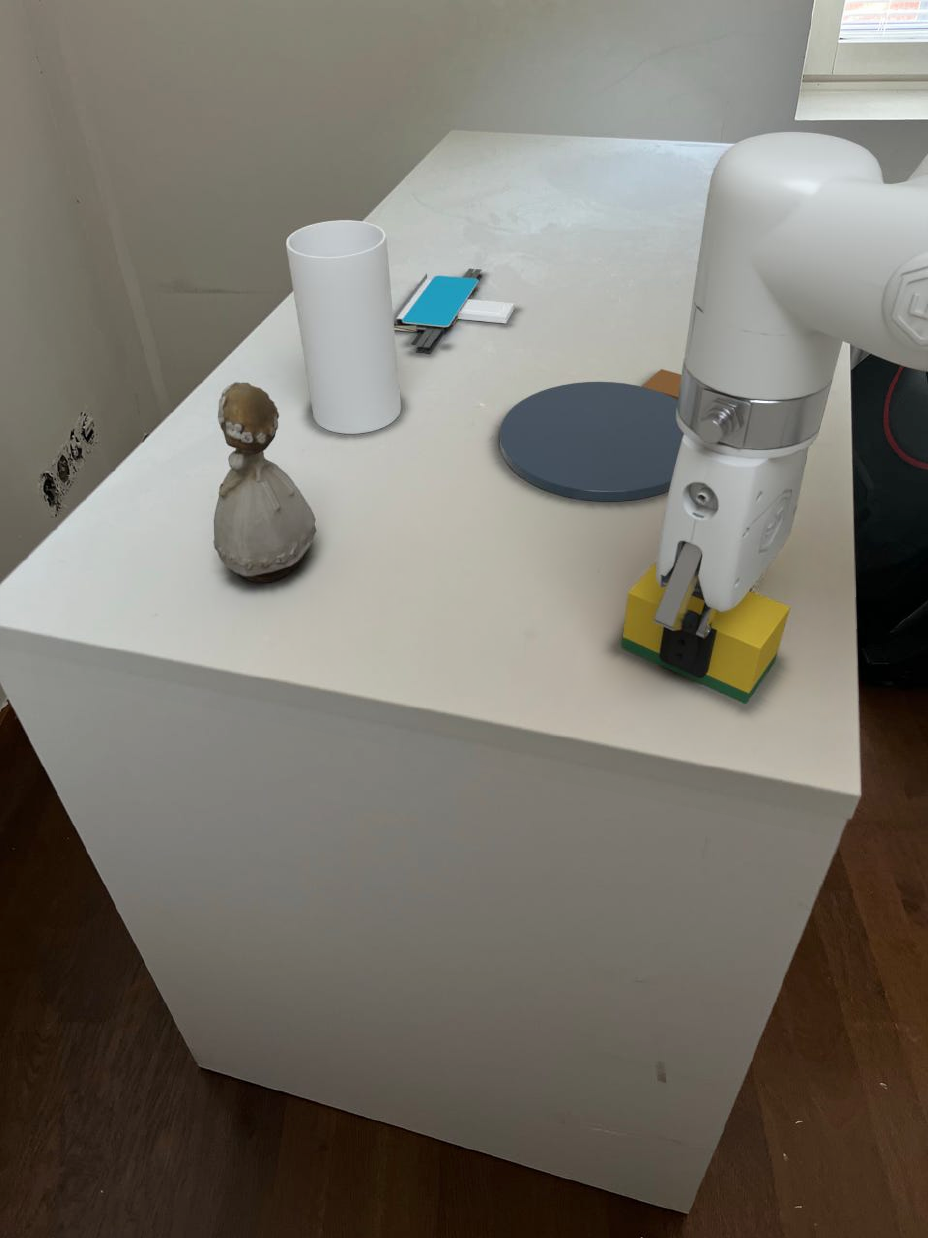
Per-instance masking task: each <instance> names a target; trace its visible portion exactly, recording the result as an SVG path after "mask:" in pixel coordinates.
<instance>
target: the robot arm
mask: <svg viewBox="0 0 928 1238" xmlns="http://www.w3.org/2000/svg"><path fill="white" fill-rule="evenodd" d="M701 231H702V232H701V238H700V245H699V251H698V257H697V258H698V260H697V265H696V273H695V279H694V286H693V294H692V295H693V296H692V301H691V308H690V316H689V323H688V330H687V336H686V344H685V349H684V350H685V351H684V357H683V363H682V367H681V368H682V370H681V382H680V389H679V396H678V403H677V410H676V421H677V424H678V426H679V428H680V429H681V430H682V432H683V433H684V435H683V438H682V442H681V445H680V449H679V453H678V456H677V460H676V464H675V468H674V472H673V476H672V480H671V484H670V489H669V491H668V493H667V498H666V503H665V507H664V512H663V517H662V523H661V527H660V528H661V529H660V533H659V538H658V539H659V540H658V545H657V553H656V560H655V561H656V562H655V563H656V579H657V582H658V584H659V585H660V587H665V586H667V587H666V590H665V592H664V594H663V597H662V599H661V602H660V604H659V607H658V609H657V612H656V614H655V617H654V622H655V623H657V624H659V625H661V626H663V627H664V629H663V635H662V641H661V647H660V653H659V657H660V659H661V660H662V661H663V662H665V663H667V664H669V665H672V666H674V667H676V668H678V669H680V670H683V671H685V672H687V673H689V674H691V675H694V676H696V677H698V678H703V677H704V676H705V675H706V674H707V672H708V669H709V664H710V660H711V655H712V651H713V646H714V641H715V637H716V632H717V630H716V629H713V628H712V625H713V621H714V618H715V615H716V611H717V610H718V611H719V612H726V611H728V610H730V609H732V608H734V607H735V606H737V605H738V604H739V602H740V601H741V600H742V599H743V598H744V597H745V595H746V594H747V593H748V592H749V591H753V587H754V585H755V584H756V583H757V582H758V580H759V579H760V578H761V576H763V574H764V572H766V570H767V569H768V568H769V566H770V565H771V564H772V562H773V561H774V560H775V558H776V557H777V555H778V554H779V553H780V551H781V550H782V549H783V547H784V545H785V544H786V542H787V540H788V539H789V537H790V535H791V532H792V530H793V527H794V522H795V517H796V513H797V509H798V508H797V507H798V503H799V498H800V493H801V489H802V484H803V479H804V473H805V470H806V465H807V460H808V454H809V449H810V446H811V445H813V444H814V442H815V441H816V439H817V438H818V436H819V433H820V429H821V425H822V421H823V417H824V414H825V410H826V408H827V407H826V406H827V403H828V399H829V395H830V391H831V388H832V383H833V380H834V375H835V372H836V369H837V365H838V361H839V357H840V353H841V349H842V345H843V342H844V343H846V344H848V345H850V346H852V347H855V348H857V349H858V350H859V349H860V350H862V351H864V352H867V353H869V354H871V355H873V356H876V357H878V358H880V359H883V360H885V361H888V362H891V363H894V364H897V365H899V366H902V367H905V368H908V369H914V370H918V371H921V372H928V153H927V154H926V155H925V157H924V158H923V159H922V161H921V162H920V163H919V165H918V166H917V167H916V169H915V170H914V171H913V172H912V173H911V175H910V176H909V178H908V179H906V180H905V181H902V182H897V183H885V182H884V178H883V172H882V169H881V166H880V164H879V162H878V159H877V158H876V157H875V156H874V155H873V154H872V153H871V152H870V151H869V150H868V149H867V148H865V147H864V146H862V145H860V144H858V143H855V142H853V141H851V140H848V139H845V138H843V137H838V136H834V135H830V134H824V133H819V132H818V133H816V132H806V131H778V132H777V131H776V132H769V133H763V134H759V135H754V136H750V137H747V138H744V139H742V140H740V141H738V142H736V143H734V144H733V145H731V146H729V148H728V149H726V150H725V151H724V153H722V155H721V156H720V157H719V159H718V160H717V163H716V164H715V166H714V168H713V170H712V173H711V176H710V181H709V186H708V191H707V197H706V203H705V211H704V217H703V225H702V230H701ZM691 596H694V597H697V598H699V599H702V600H704V601H705V603H704V606H703V610H702V613H701V615H700V614H698V613H697V612H694V611H692V610H689V609H687V606H688V603H689V601H690V598H691Z"/></svg>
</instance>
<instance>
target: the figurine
mask: <svg viewBox="0 0 928 1238" xmlns="http://www.w3.org/2000/svg"><path fill="white" fill-rule="evenodd" d="M279 417H280V413H279V412H278V408H277V406H276V404H275V402H274V401H273V400H272V399H271V398H270V396H269V394H268V392H266V391H264V390H263V389H262V388H261V387H257V386H254V385H252V384H250V383H249V382H239V381H235V382H232V383H230V384H229V385H227V386H226V387H225V388H224V389H223V391H222V392H221V396H220V398H219V400H218V411H217V419H218V424H219V427H220V429H221V431H222V433H223V435H224V439H225V443H226V444H227V446H228V447H231V448H234V449H235V450H233V451H232V452H231V453H230V454H229V455H228V459H227V460H228V465H229V468H230V469H229V470H228V472H227V474H226V475H225V477H224V479H223V481H222V483H220V485H219V489H218V490H219V491H218V498H217V502H216V506H215V509H214V515H213V547H214V550H215V551H216V552H217V555H218V558H219V559H220V561H221V562H222V563H223V565H224V566H226V567H227V568H229V569H230V570H232V571H233V572H234V573H236V575H237V576H239V577H242V578H245V579H247V580H249V581H251V582H255V583H262V584H263V583H271V582H275V581H278V580H281V578H284V577H285V576H287V575H289V574H290V573H291V572H293V571H294V570H295V569H297V568H298V566H299V565H300V564H301V563H302V559H303V557H304V555H305V554H306V552H307V551H308V549H309V548H310V547H311V543H312V541H313V539H314V538H315V534H316V533H317V531H318V530H317V526H316V517H315V513H314V512H313V509H312V507H311V505H310V504H309V503H308V501H307V500H306V498H305V497H304V494H303V493H302V492H301V490H300V489H299V487H298V486H297V485H296V484H295V482H294V480H293V479H292V478H291V477H290V476H289V475H288V473H287V472H286V471H284V470H283V469H282V468H281V467H279V465H278V464H277V463H274V462H273V461H270V460H268V459H267V458H266V457H265V452H264V451H266V449H267V448H268V447H269V446H270V445H271V443H272V442H273V440H274V439H275V437H276V433H277V430H278V429H279V421H278V420H279Z"/></svg>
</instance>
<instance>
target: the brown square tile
mask: <svg viewBox="0 0 928 1238" xmlns="http://www.w3.org/2000/svg"><path fill="white" fill-rule="evenodd" d="M681 375H682V373H677V372H673V371H671V370H670V371H669V370H667V369H663V368H661V369H659V370H658V371H657V372H656V373H654V375H653V376H652V377H650V378H649V379H648V380H647V381H646V382H644V383H643V384H642V386H641V387H645V388H649V389H652V390H655V391H658V392H661V393H663V394H666V395H668V396H671V397H672V398H674V399H676V400H678V396H679V389H680V382H681Z"/></svg>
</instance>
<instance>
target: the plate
mask: <svg viewBox="0 0 928 1238" xmlns="http://www.w3.org/2000/svg"><path fill="white" fill-rule="evenodd" d="M677 403H678V400H676V399H674V398H672V397H671V396H668V395H666V394H663V393H661V392H658V391H655V390H652V389H649V388H645V387H642V386H640V385H637V384H630V383H625V382H624V383H623V382H616V381H615V382H614V381H583V382H574V383H566V384H561V385H557V386H553V387H550V388H546V389H544V390H540V391H538V392H536V393H533V394H530V395H529V396H528V397H525V398H524V399H522V400H521V401H519V402H518V403H516V404H515V405H514V406H513V407H512V408H511V409H510V410H509V411H508V412H507V413H506V415H505V416H504V418H503V420H502V422H501V424H500V427H499V428H500V429H499V449H500V452H501V456H502V457H503V459H504V461H505V462H506V464H507V465H508V467H509V468H510V469H511V470H512V471H513V472H514V473H515V474H517V475H518V476H519V477H520V478H521V479H523V480H525V481H526V482H528V483H530V484H531V485H533V486H535V487H537V488H539V489H542V490H545V491H547V492H550V493H553V494H556V495H559V496H562V497H566V498H571V499H576V500H582V501H592V502H626V501H634V500H635V501H636V500H641V499H646V498H647V499H648V498H650V497H653V496H658V495H662V494H664V493H666V492H669V489H670V484H671V480H672V476H673V472H674V468H675V464H676V460H677V456H678V453H679V449H680V445H681V442H682V438H683V435H684V433H683V432H682V430H681V429H680V428H679V426H678V424H677V421H676V410H677Z"/></svg>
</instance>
